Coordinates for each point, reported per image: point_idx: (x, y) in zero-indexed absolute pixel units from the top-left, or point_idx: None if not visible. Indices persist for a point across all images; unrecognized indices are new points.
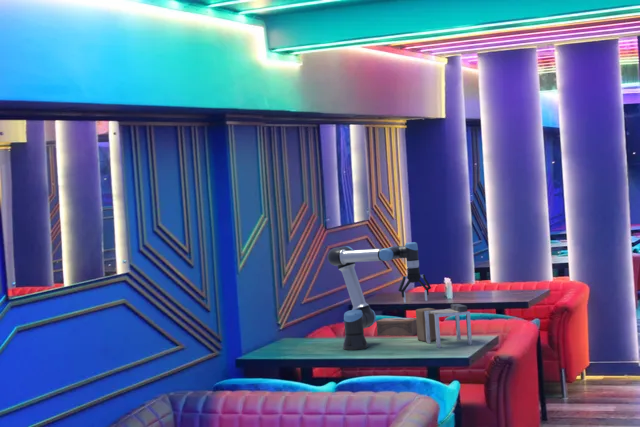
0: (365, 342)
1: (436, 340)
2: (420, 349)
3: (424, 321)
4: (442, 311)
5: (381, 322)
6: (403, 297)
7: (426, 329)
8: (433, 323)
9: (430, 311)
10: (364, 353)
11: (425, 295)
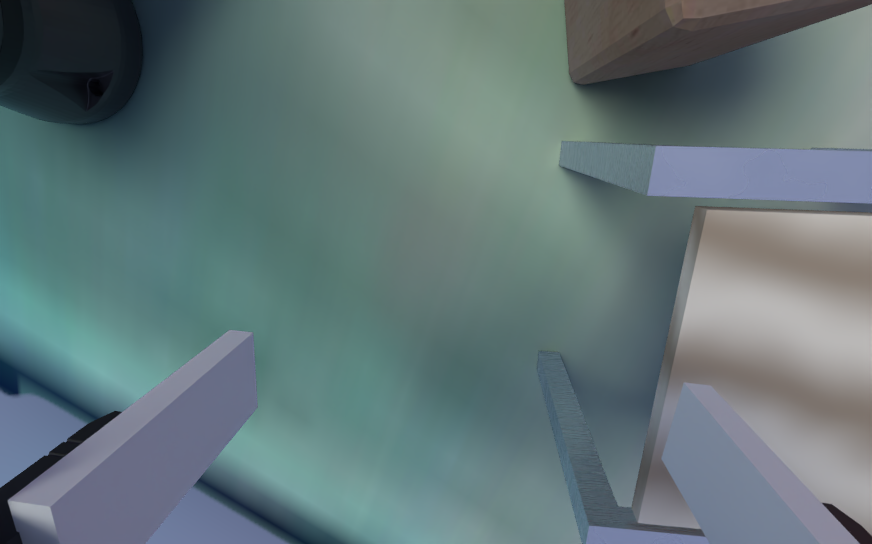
0: (98, 73)
1: (544, 379)
2: (432, 353)
3: (636, 57)
4: (814, 370)
5: None
6: (157, 386)
7: (583, 171)
8: (742, 42)
9: (702, 249)
10: (116, 277)
11: (733, 524)
